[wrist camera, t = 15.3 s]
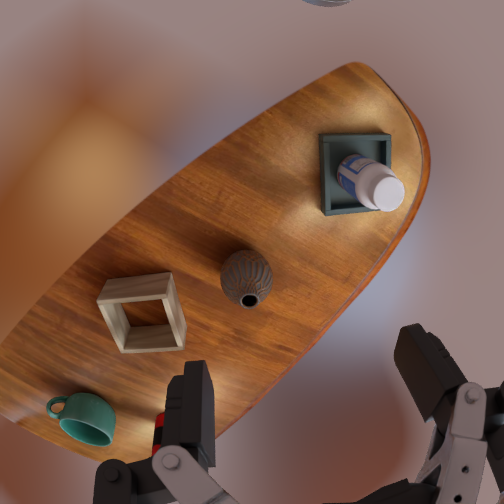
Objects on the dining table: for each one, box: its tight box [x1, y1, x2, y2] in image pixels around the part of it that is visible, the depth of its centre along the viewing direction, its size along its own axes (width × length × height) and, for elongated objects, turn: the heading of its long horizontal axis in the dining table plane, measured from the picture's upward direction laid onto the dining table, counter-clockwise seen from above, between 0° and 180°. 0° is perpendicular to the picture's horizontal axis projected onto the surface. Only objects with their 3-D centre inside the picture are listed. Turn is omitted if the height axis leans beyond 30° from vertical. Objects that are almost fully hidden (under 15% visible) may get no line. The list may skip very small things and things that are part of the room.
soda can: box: [152, 413, 164, 456], centre depth 57 cm, size 8×8×12 cm
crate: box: [96, 272, 187, 353], centre depth 44 cm, size 11×11×6 cm
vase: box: [220, 250, 273, 309], centre depth 40 cm, size 7×7×9 cm
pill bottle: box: [337, 154, 404, 212], centre depth 34 cm, size 6×5×10 cm
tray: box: [319, 133, 391, 216], centre depth 38 cm, size 11×10×2 cm
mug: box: [46, 393, 116, 446], centre depth 54 cm, size 17×13×10 cm
